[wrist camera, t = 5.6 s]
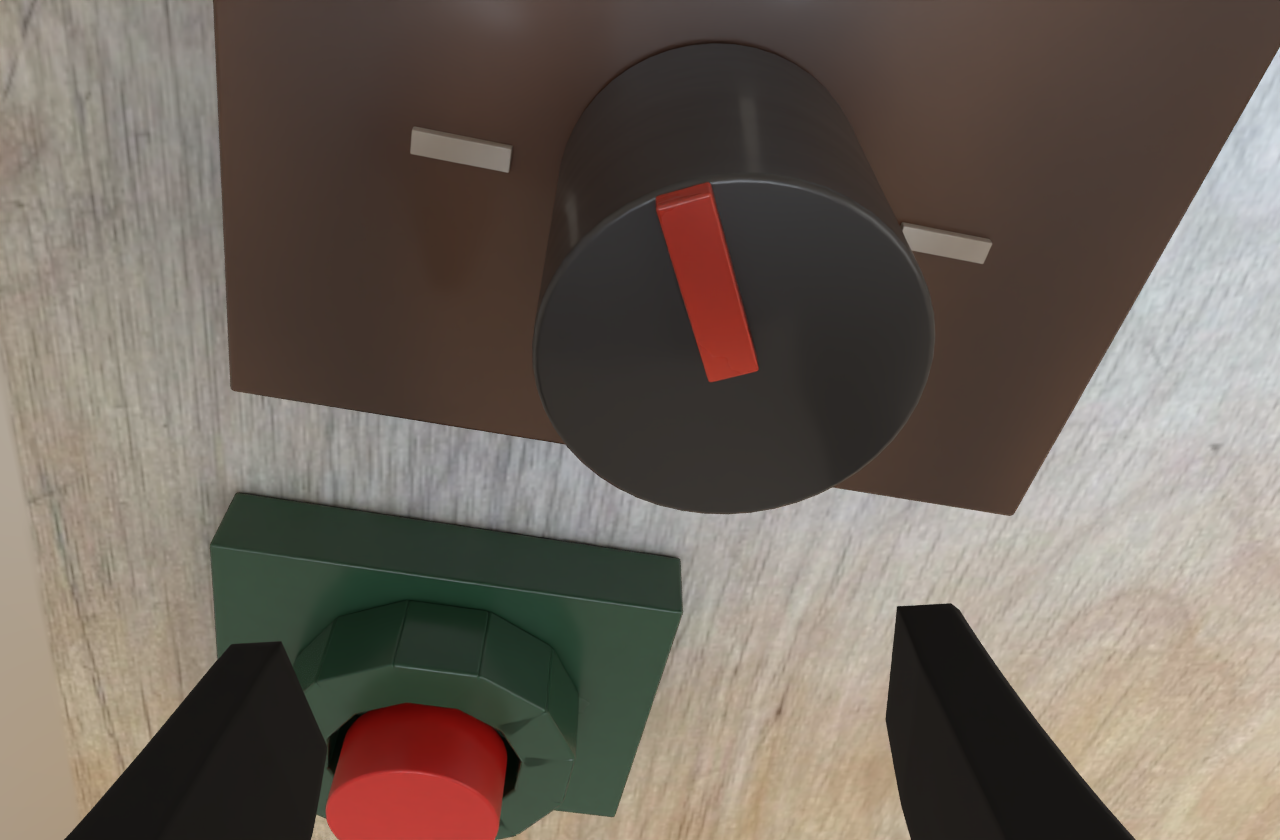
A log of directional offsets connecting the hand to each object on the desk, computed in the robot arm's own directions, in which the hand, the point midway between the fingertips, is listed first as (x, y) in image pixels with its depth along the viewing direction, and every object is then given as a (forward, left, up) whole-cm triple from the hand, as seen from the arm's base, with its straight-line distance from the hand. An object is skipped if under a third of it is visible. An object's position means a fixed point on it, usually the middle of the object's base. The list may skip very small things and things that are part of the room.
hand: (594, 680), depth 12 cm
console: (+1, +4, -9) cm, 10 cm away
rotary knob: (+1, +4, -6) cm, 7 cm away
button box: (-2, -10, -9) cm, 14 cm away
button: (-2, -10, -6) cm, 12 cm away
